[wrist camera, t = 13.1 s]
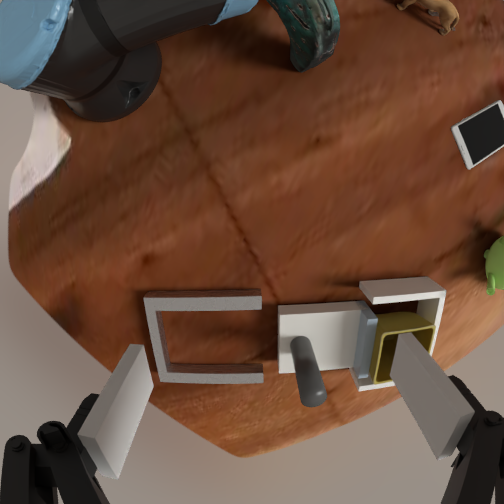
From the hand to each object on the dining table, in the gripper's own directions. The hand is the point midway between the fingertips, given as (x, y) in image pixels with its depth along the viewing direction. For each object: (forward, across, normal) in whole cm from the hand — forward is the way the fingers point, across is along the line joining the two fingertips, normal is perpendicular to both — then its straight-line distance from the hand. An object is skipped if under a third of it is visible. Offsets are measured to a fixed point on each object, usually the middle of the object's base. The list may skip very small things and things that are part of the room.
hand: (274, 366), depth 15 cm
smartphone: (+29, +38, +17) cm, 51 cm away
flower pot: (+29, +20, -15) cm, 38 cm away
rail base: (+29, -8, -15) cm, 33 cm away
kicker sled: (+28, +9, -15) cm, 33 cm away
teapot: (+29, +42, -5) cm, 51 cm away
